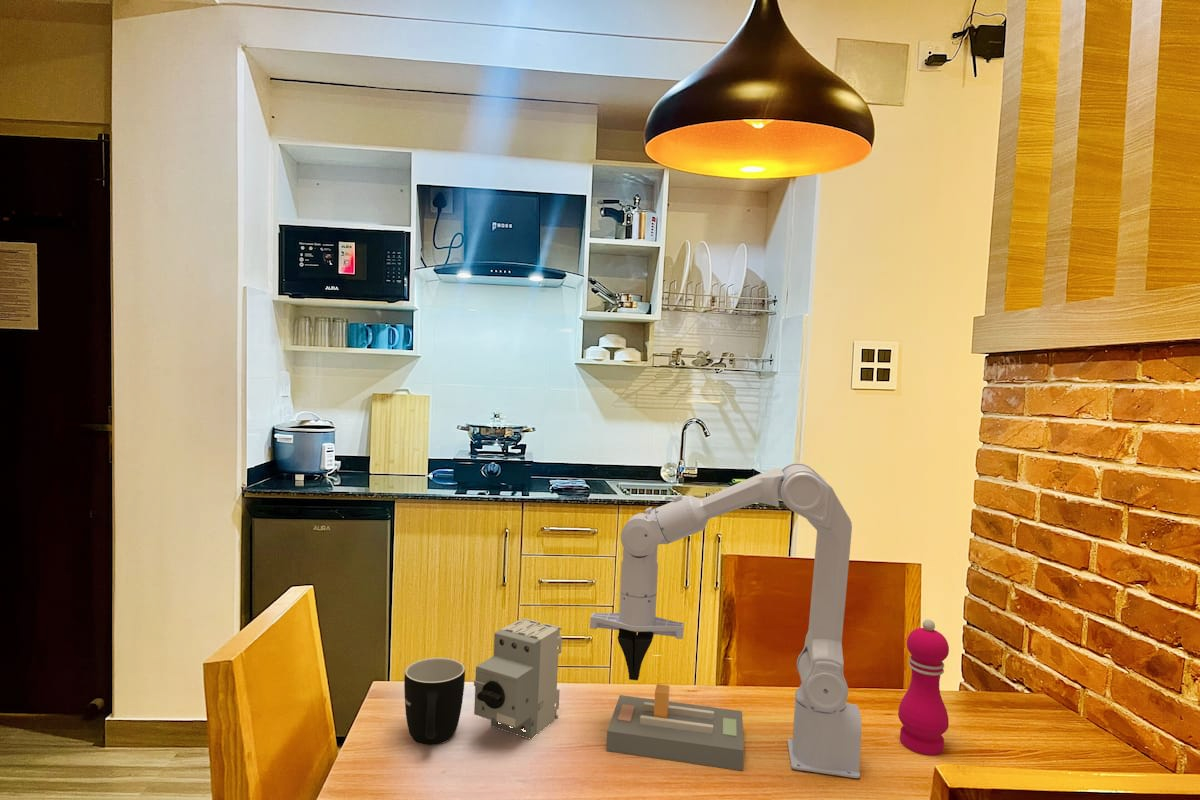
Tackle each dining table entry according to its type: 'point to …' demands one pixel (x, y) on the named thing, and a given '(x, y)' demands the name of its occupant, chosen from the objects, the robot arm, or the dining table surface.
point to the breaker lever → (661, 701)
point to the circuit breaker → (520, 678)
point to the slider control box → (677, 733)
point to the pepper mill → (924, 692)
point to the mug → (433, 699)
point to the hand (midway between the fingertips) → (634, 677)
